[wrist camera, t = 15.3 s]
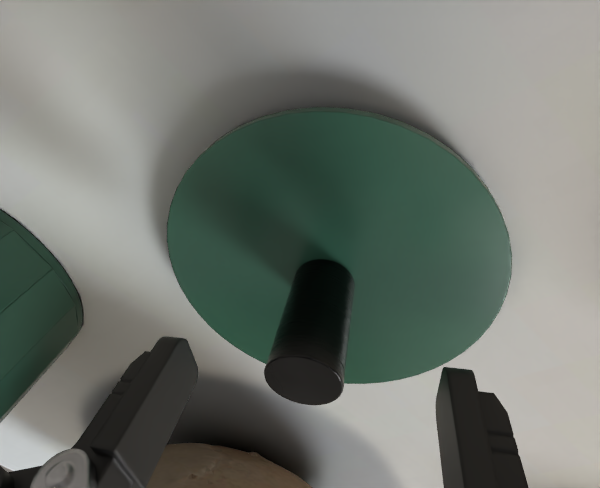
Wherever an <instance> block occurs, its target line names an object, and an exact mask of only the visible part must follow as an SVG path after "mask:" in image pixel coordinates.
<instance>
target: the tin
mask: <svg viewBox="0 0 600 488" xmlns="http://www.w3.org/2000/svg"><path fill="white" fill-rule="evenodd" d="M82 321H83V311H82V306H81V302H80V299H79V296H78V293H77V291H76V289H75V287H74V285H73V283H72V281H71V280H70V278H69V277H68V275H67V274H66V272H65V271H64V269H63V268H62V266H61V265H60V264H59V263H58V261H57V260H56V259H55V258H54V256H53V255H52V254H51V253H50V252H49V251H48V250H47V249H46V248H45V247H44V246H43V244H42V243H40V242H39V241H38V240H37V239H36V238H35V237H34V236H33V235H32V234H31V233H30V232H29V231H28V230H26V229H25V228H24V227H23V226H21V225H20V224H19V223H18V222H16V221H15V220H14V219H13V218H11V217H10V216H8V215H7V214H6V213H4V212H3V211H1V210H0V423H1V422H2V421H3V419H4V418H5V417H6V416H7V415H8V414H9V413H10V411H11V410H12V409H13V408H14V407H15V406H16V405H17V404H18V402H19V401H20V400H21V399H22V398H23V397H24V396H25V394H26V393H27V392H28V391H29V390H30V389H31V388H32V387H33V385H34V384H35V383H36V382H37V381H38V380H39V379H40V378H41V376H42V375H43V374H44V373H45V372H46V371H47V370H48V368H49V367H50V366H51V365H52V364H53V363H54V362H55V361H56V359H57V358H58V357H59V356H60V355H61V354H62V353H63V351H64V350H65V349H66V348H67V347H68V345H69V344H70V343H71V341H72V340H73V339H74V337H75V336H76V335H77V334H78V332H79V330H80V329H81V325H82Z"/></svg>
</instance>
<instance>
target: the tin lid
mask: <svg viewBox="0 0 600 488" xmlns="http://www.w3.org/2000/svg"><path fill="white" fill-rule="evenodd" d="M167 243H168V250H169V257H170V260H171V264H172V267H173V270H174V273H175V276H176V278H177V280H178V282H179V285H180V287H181V289H182V290H183V292H184V294H185V295H186V297H187V299H188V300H189V302H190V303H191V305H192V306H193V307H194V309H195V310H196V311H197V313H198V314H199V315H200V316H201V317H202V318H203V319H204V320H205V321H206V323H207V324H208V325H209V326H210V327H211V328H213V329H214V330H215V331H216V332H217V333H218V334H219V335H220V336H222V337H223V338H224V339H225V340H227V341H228V342H229V343H231V344H232V345H234V346H235V347H236V348H238V349H240V350H241V351H243V352H244V353H246V354H248V355H249V356H251V357H253V358H255V359H257V360H259V361H261V362H263V363H265V364H266V366H265V370H264V375H265V379H266V382H267V383H268V385H269V386H270V387H271V388H272V389H273V390H274V391H275V392H276V393H278V394H279V395H281V396H282V397H284V398H286V399H288V400H291V401H294V402H297V403H301V404H306V405H322V404H327V403H330V402H332V401H334V400H336V399H337V398H338V397H339V396H340V395H341V393H342V391H343V387H344V383H347V384H367V383H380V382H387V381H394V380H400V379H404V378H407V377H411V376H415V375H418V374H421V373H424V372H427V371H429V370H432V369H434V368H436V367H438V366H441V365H443V364H445V363H447V362H449V361H450V360H452V359H453V358H455V357H457V356H458V355H460V354H461V353H463V352H464V351H465V350H467V349H468V348H469V347H470V346H471V345H472V344H474V343H475V342H476V341H477V340H478V339H479V338H480V337H481V336H482V335H483V334H484V332H485V331H486V330H487V329H488V328H489V327H490V325H491V324H492V322H493V321H494V319H495V318H496V316H497V314H498V313H499V311H500V309H501V307H502V304H503V302H504V300H505V297H506V295H507V291H508V287H509V282H510V278H511V266H512V253H511V246H510V240H509V234H508V231H507V228H506V225H505V222H504V220H503V217H502V214H501V212H500V210H499V208H498V206H497V204H496V202H495V200H494V199H493V197H492V195H491V193H490V192H489V190H488V188H487V186H486V185H485V184H484V183H483V181H482V180H481V179H480V178H479V176H478V175H477V174H476V173H475V172H474V170H473V169H472V168H471V167H470V166H469V165H468V164H467V163H466V162H465V161H464V160H462V159H461V158H460V157H459V156H458V155H457V154H456V153H455V152H454V151H452V150H451V149H450V148H448V147H447V146H445V145H444V144H442V143H441V142H439V141H438V140H436V139H435V138H433V137H432V136H430V135H429V134H427V133H425V132H423V131H421V130H418V129H416V128H414V127H412V126H410V125H408V124H406V123H404V122H401V121H398V120H395V119H392V118H389V117H385V116H382V115H379V114H376V113H372V112H366V111H360V110H354V109H348V108H331V107H312V108H302V109H293V110H286V111H282V112H278V113H274V114H270V115H266V116H263V117H260V118H258V119H256V120H253V121H251V122H248V123H246V124H243V125H241V126H239V127H237V128H236V129H234V130H233V131H231V132H229V133H228V134H226V135H224V136H223V137H221V138H220V139H219V140H217V141H216V142H215V143H214V144H213V145H212V146H210V147H209V148H208V149H207V150H206V151H205V152H203V153H202V154H201V155H200V156H199V157H198V158H197V160H196V161H195V162H194V163H193V164H192V166H191V167H190V168H189V169H188V170H187V172H186V173H185V175H184V177H183V178H182V180H181V182H180V184H179V185H178V187H177V189H176V192H175V195H174V197H173V200H172V203H171V206H170V211H169V217H168V222H167Z"/></svg>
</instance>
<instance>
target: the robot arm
mask: <svg viewBox="0 0 600 488" xmlns="http://www.w3.org/2000/svg"><path fill="white" fill-rule="evenodd" d="M197 377H198V367H197V364H196V362H195V359H194V356H193V354H192V351H191V349H190V346H189V344H188V341H187V340H186V339H183V338H174V337H161V338H160V339H159V340H158V341H157V343H156V344H155V346H154V347H153V349H152V350H151V352H146V351H145V352H144V353H143V354H142V355H140V356H139V357H138V358H137V359H136V360H135V361H133V362H132V363H131V364H130V366H129V367H128V369H127V370H126V371H125V373H124V374H123V376H122V377H121V381H120V382H118V383H117V385H116V386H115V388H114V389H113V390H112V394H110V395H109V396H108V398H107V399H106V401H105V402H104V404H103V405H102V407H101V408H100V409H99V411H98V412H97V414H96V415H95V417H94V418H93V420H92V421H91V423H90V424H89V426H88V427H87V429H86V430H85V431H84V433H83V434H82V436H81V437H80V439H79V440H78V441H77V443H76V444H75V445H74V446H73V447H72V448H71V449H68V450H65V451H62V452H60V453H58V454H56V455H55V456H53V457H52V458H51V459H49V460H48V461H47V462H46V463H45V464H44V465H43V466H38V467H33V468H28V469H23V470H18V471H13V472H7V471H5V470H4V469H3V468H2V467H1V466H0V488H146V486H147V484H148V482H149V480H150V478H151V476H152V474H153V472H154V470H155V468H156V465H157V463H158V461H159V459H160V457H161V455H162V453H163V451H164V449H165V447H166V445H167V443H168V441H169V439H170V437H171V434H172V432H173V430H174V428H175V426H176V424H177V422H178V420H179V418H180V416H181V414H182V412H183V410H184V408H185V406H186V403H187V401H188V399H189V397H190V395H191V393H192V391H193V389H194V387H195V385H196V382H197ZM436 421H437V430H438V439H439V448H440V457H441V466H442V475H443V484H444V488H528V484H527V481H526V477H525V474H524V470H523V466H522V463H521V459H520V456H519V455H518V449H517V445H516V442H515V438H514V437H513V431H512V427H511V424H510V420H509V417H508V413H507V411H506V410H505V409H504V407H503V406H502V404H501V403H500V401H499V400H498V399H497V397H496V396H495V394H494V393H487V392H479V391H478V389H477V384H476V380H475V376H474V373H473V371H472V370H467V369H457V368H448V367H444V368H443V370H442V374H441V379H440V384H439V388H438V393H437V398H436Z"/></svg>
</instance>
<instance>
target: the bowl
mask: <svg viewBox="0 0 600 488" xmlns="http://www.w3.org/2000/svg"><path fill="white" fill-rule="evenodd" d="M146 488H312V487H311V486H310V485H309V484H308V483H306V482H305V481H304V480H302V479H301V478H300V477H299V476H297V475H295V474H294V473H292V472H290V471H288V470H286V469H284V468H283V467H281V466H278V465H276V464H274V463H273V462H271V461H269V460H267V459H265V458H263V457H262V456H260V455H259V454H258V453H256V452H249V453H248V452H244V451H240V450H237V449H233V448H228V447H224V446H212V445H210V444H201V443H179V444H168V445H166V447H165V449H164V451H163V453H162V455H161V457H160V459H159V461H158V463H157V465H156V468H155V470H154V472H153V474H152V476H151V478H150V480H149V482H148V484H147V486H146Z"/></svg>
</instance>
